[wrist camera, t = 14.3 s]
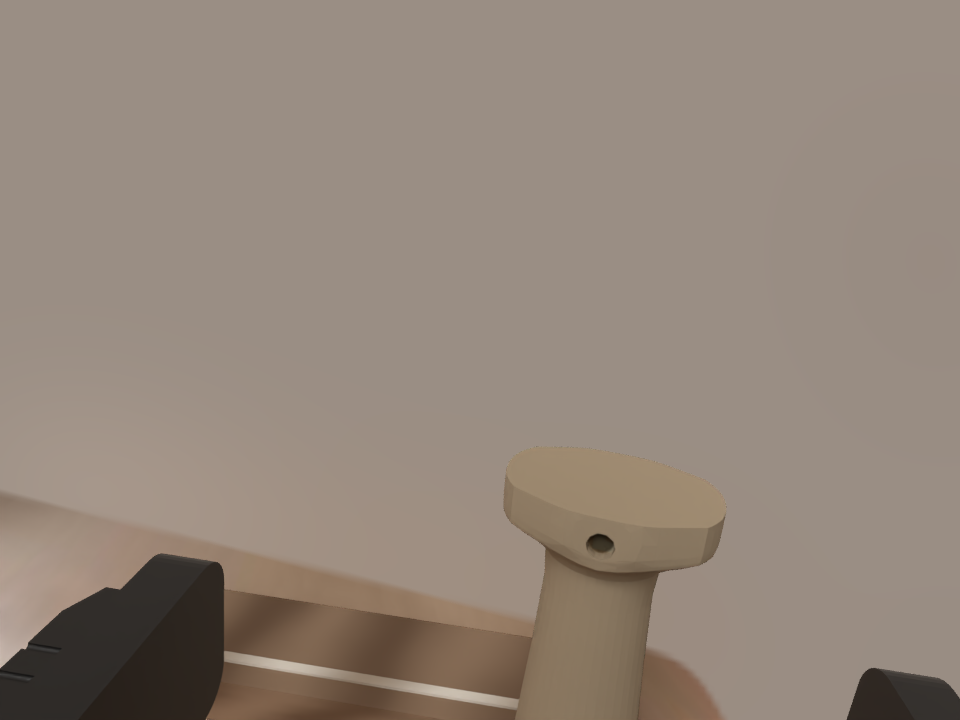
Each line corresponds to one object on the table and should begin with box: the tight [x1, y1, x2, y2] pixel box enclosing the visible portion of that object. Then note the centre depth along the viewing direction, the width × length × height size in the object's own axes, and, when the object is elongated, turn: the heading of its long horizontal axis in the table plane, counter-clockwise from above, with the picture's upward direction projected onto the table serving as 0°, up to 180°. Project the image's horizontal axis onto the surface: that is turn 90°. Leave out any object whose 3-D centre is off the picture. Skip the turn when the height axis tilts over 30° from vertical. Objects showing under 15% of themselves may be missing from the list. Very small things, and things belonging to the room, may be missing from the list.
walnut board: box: [206, 589, 532, 720], centre depth 32 cm, size 22×6×2 cm, turn 83°
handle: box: [504, 447, 726, 720], centre depth 23 cm, size 5×6×15 cm
